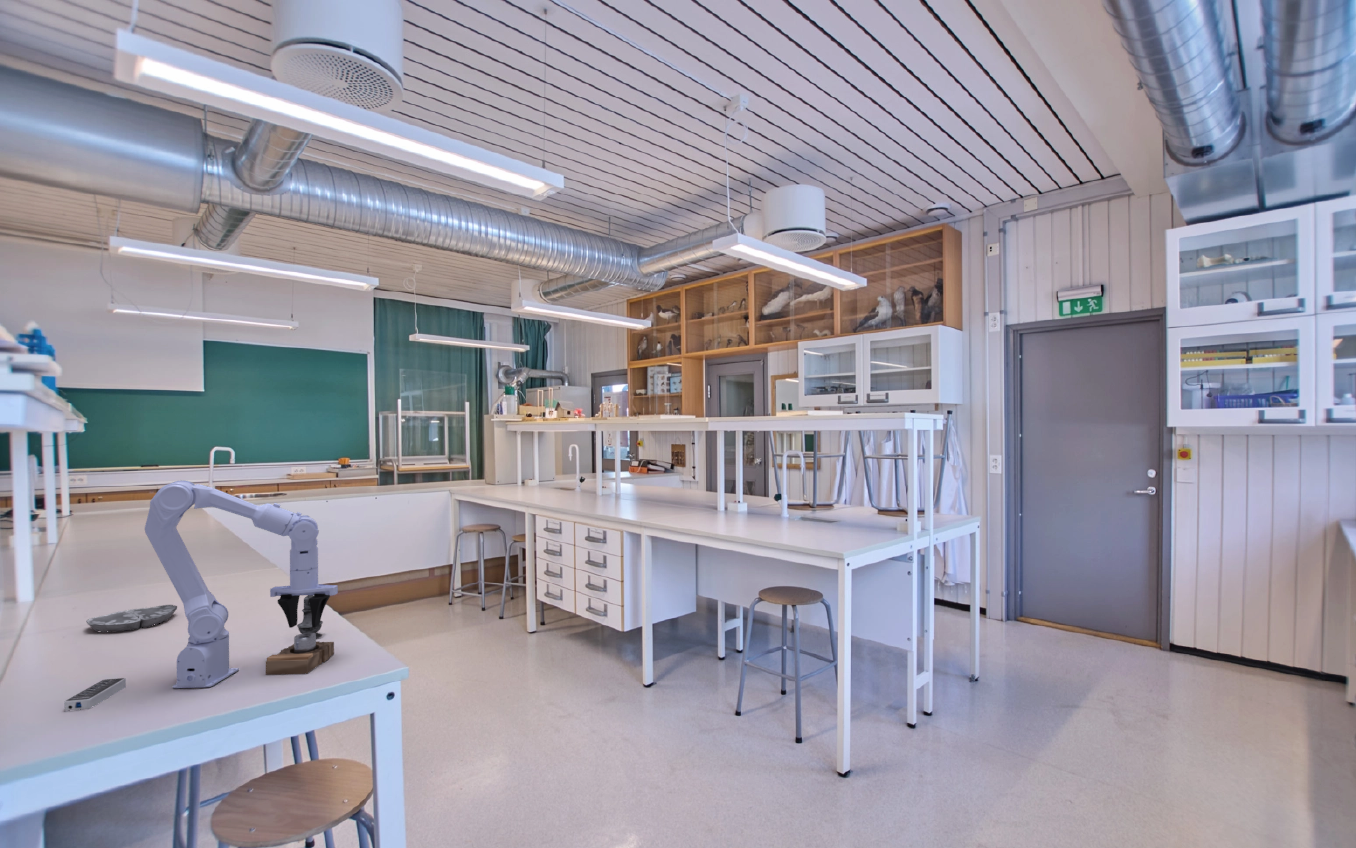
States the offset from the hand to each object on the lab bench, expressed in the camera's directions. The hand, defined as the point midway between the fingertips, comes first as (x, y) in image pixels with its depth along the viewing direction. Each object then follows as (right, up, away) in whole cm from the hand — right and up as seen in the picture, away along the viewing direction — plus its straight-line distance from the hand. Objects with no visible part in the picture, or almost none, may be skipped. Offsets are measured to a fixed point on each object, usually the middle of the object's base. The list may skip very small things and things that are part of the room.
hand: (304, 626), depth 147 cm
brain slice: (-65, -10, +29) cm, 72 cm away
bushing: (0, -8, 0) cm, 8 cm away
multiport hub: (-31, -9, -19) cm, 38 cm away
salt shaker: (-9, -9, +17) cm, 21 cm away
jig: (0, -8, -1) cm, 9 cm away
